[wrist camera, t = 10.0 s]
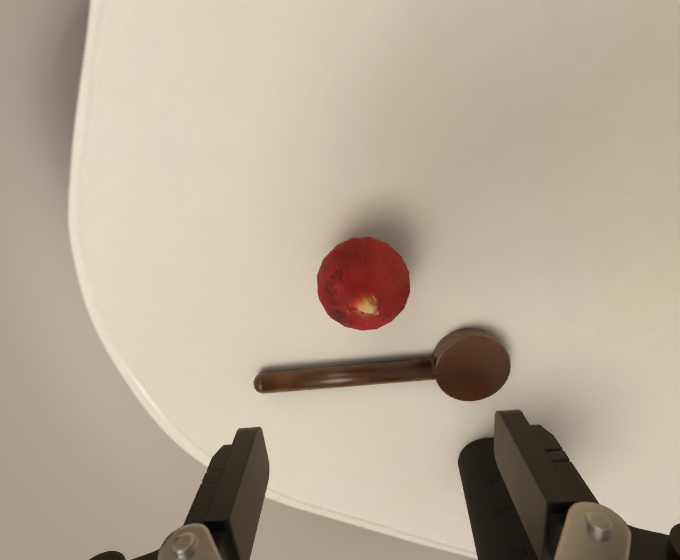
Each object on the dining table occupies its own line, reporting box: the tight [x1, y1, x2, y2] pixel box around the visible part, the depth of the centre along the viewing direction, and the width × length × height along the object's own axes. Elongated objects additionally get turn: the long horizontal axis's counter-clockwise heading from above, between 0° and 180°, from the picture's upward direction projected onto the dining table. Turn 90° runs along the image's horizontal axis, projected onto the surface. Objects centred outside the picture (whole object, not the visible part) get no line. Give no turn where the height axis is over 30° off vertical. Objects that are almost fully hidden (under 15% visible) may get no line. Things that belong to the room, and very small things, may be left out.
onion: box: [317, 237, 410, 330], centre depth 25 cm, size 6×6×8 cm
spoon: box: [254, 328, 511, 401], centre depth 31 cm, size 6×20×2 cm, turn 96°
